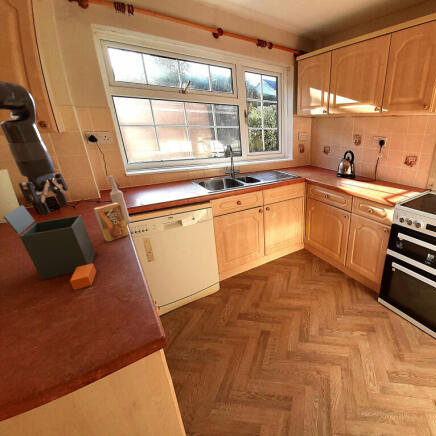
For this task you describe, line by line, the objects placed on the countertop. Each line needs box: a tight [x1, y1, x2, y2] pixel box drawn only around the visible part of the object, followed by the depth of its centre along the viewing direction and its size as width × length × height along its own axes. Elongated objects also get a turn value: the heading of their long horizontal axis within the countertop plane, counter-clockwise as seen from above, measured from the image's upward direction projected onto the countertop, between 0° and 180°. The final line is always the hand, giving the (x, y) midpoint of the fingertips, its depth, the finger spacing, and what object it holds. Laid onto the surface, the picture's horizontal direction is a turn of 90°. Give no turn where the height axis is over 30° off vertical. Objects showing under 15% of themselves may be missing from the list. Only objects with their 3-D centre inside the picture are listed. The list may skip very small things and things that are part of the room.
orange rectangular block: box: [69, 262, 97, 291], centre depth 81 cm, size 4×9×4 cm, turn 29°
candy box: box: [93, 202, 130, 242], centre depth 109 cm, size 9×4×15 cm, turn 145°
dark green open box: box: [19, 215, 96, 280], centre depth 88 cm, size 13×13×16 cm
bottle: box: [107, 175, 132, 225], centre depth 123 cm, size 5×5×25 cm
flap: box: [3, 204, 36, 236], centre depth 80 cm, size 6×13×1 cm
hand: (55, 209), depth 77 cm, fingers open, 8 cm apart
